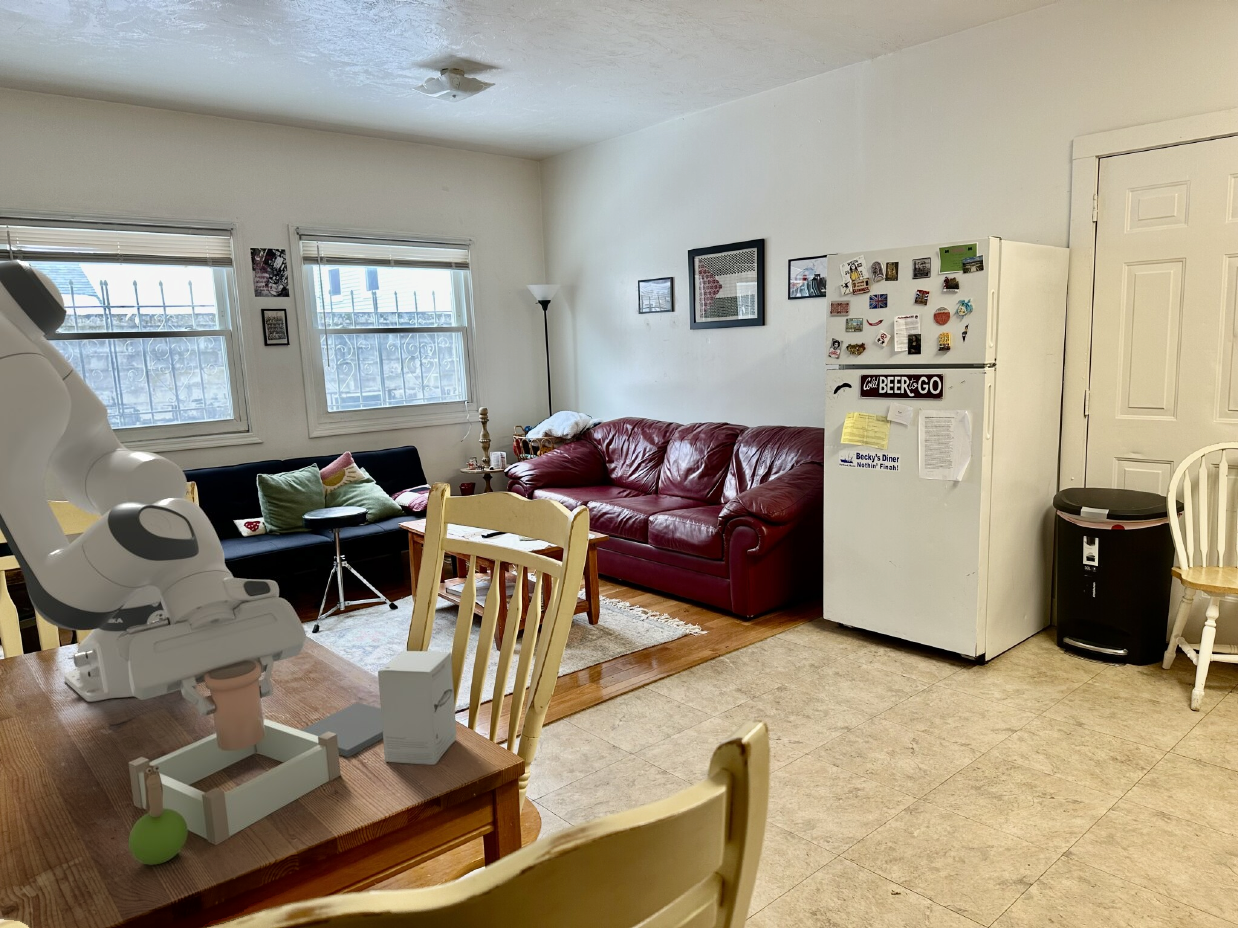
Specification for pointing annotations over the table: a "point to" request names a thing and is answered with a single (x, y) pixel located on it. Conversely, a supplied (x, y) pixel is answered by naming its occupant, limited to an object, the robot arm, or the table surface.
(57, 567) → the robot arm
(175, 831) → the snail figurine
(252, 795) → the raised garden bed frame
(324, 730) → the rubber mat
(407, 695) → the supplement box
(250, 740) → the terracotta pot
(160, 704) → the table surface
